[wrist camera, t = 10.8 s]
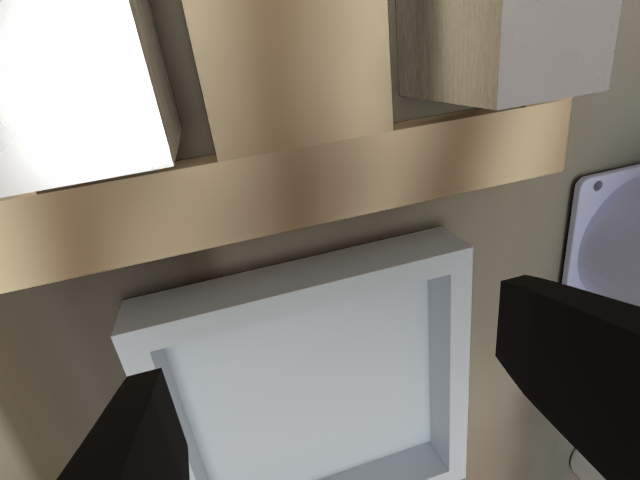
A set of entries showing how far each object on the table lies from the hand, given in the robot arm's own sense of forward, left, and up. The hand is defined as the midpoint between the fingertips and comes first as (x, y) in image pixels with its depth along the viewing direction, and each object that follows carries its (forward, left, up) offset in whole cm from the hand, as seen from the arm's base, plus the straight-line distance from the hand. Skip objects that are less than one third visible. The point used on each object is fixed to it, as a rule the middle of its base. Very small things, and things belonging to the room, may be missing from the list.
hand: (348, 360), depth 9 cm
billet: (-7, -7, -9) cm, 14 cm away
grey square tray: (0, +9, -9) cm, 13 cm away
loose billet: (+5, -7, -9) cm, 12 cm away
